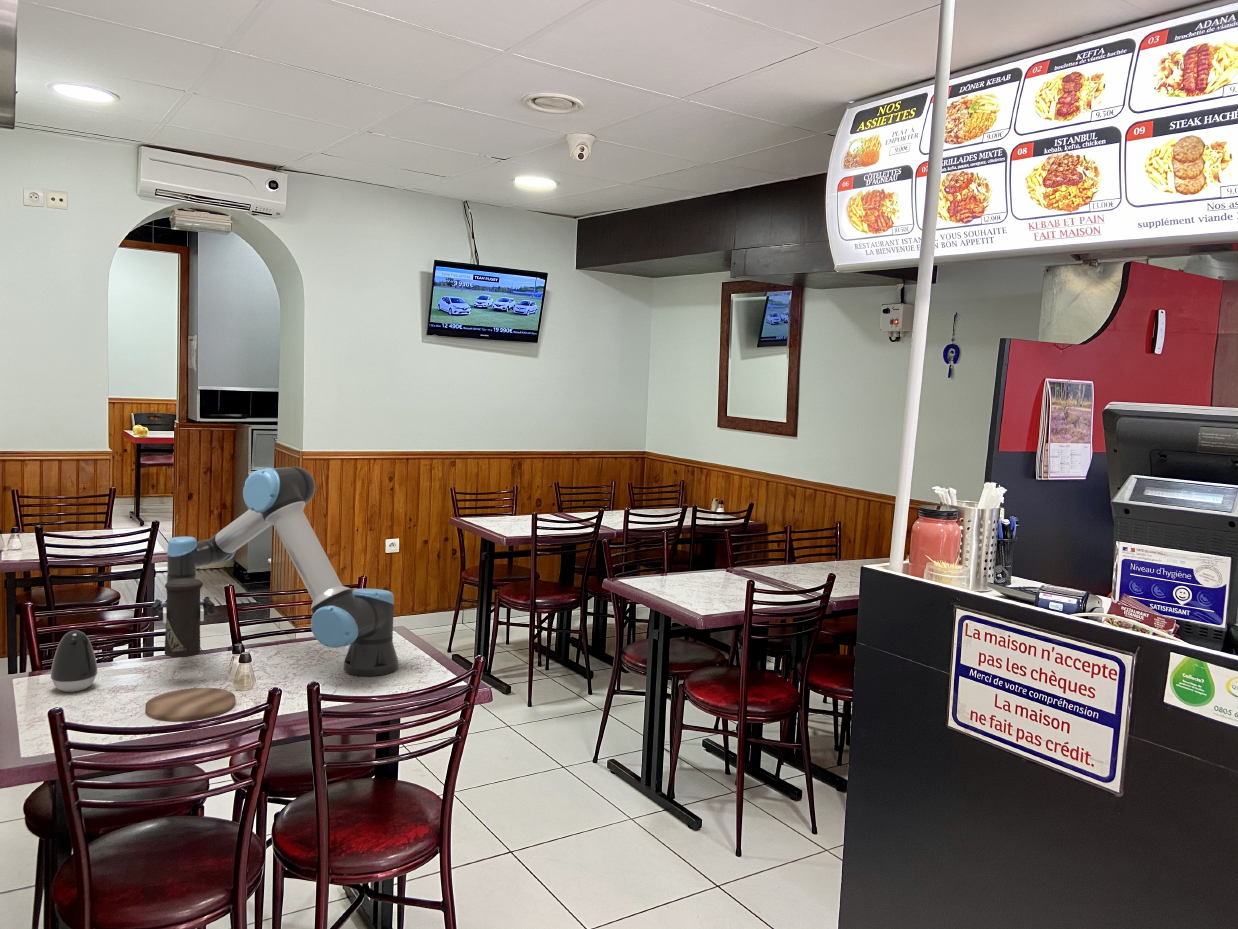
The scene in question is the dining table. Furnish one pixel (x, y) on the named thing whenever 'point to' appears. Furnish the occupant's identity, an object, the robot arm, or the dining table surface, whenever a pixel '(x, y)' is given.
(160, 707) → the round wooden board
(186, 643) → the container
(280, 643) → the dining table surface
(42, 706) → the dining table surface
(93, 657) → the black egg shaped device
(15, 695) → the dining table surface
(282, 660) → the dining table surface
